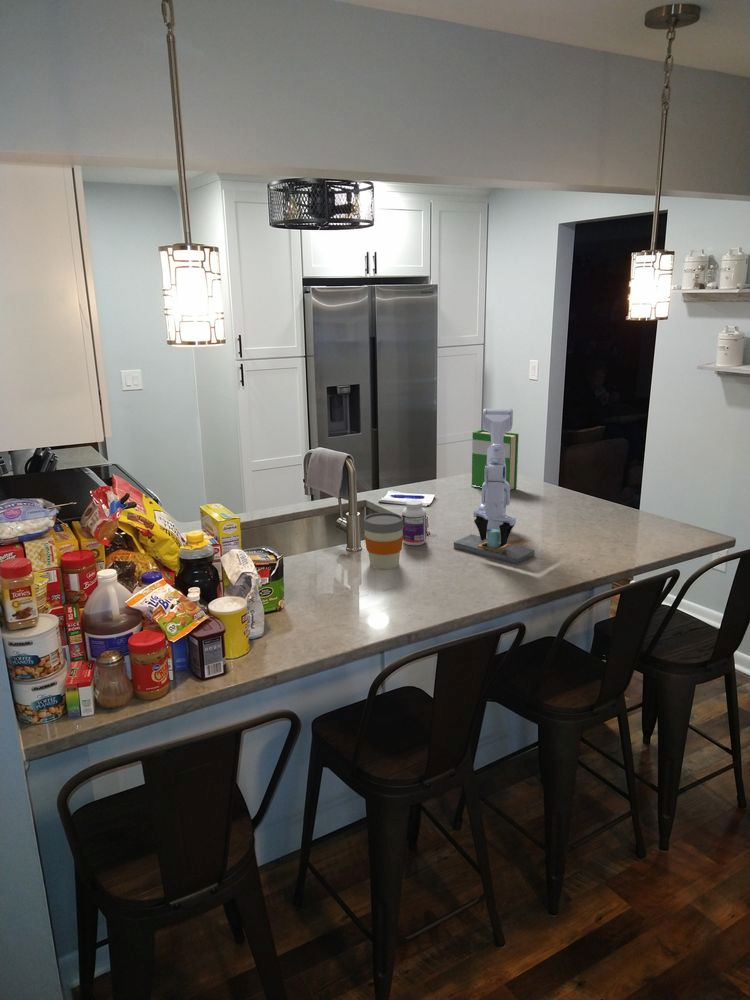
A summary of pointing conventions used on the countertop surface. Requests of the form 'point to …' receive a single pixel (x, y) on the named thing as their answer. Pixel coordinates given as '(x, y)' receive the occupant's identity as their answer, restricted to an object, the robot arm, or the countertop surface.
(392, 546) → the reusable coffee cup
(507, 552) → the grey peg hole board
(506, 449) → the hardback book
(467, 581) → the countertop surface
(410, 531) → the pill bottle
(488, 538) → the peg
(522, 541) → the brown square coaster
